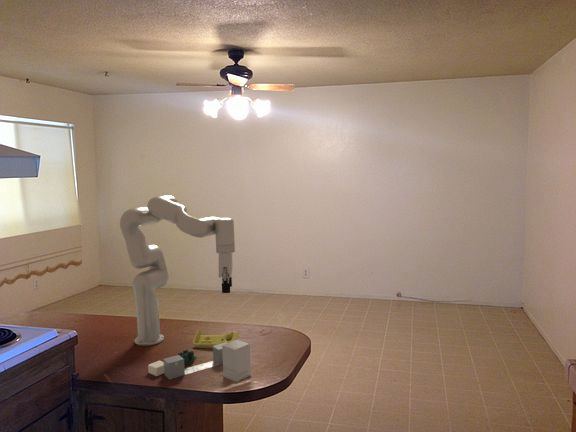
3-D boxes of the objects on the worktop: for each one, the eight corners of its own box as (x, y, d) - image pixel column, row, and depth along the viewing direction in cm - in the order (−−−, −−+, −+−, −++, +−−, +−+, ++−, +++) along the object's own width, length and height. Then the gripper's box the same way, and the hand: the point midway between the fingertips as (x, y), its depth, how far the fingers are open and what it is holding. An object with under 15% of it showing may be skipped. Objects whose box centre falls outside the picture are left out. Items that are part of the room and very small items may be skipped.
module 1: (164, 374, 175) (163, 358, 174) (179, 370, 178) (178, 354, 178) (169, 379, 171) (168, 363, 170) (184, 374, 174) (184, 359, 173)
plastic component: (191, 344, 200) (199, 327, 208) (196, 356, 204) (203, 339, 212) (234, 344, 195) (241, 326, 203) (239, 356, 199) (245, 339, 207)
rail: (164, 376, 175) (164, 374, 175) (226, 358, 190) (226, 356, 190) (169, 381, 171) (169, 379, 171) (232, 362, 186) (232, 360, 186)
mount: (191, 358, 191) (190, 346, 191) (199, 360, 189) (199, 348, 189) (172, 368, 182) (171, 356, 182) (180, 370, 180) (180, 358, 179)
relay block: (148, 375, 177) (148, 364, 176) (160, 370, 181) (159, 360, 180) (156, 378, 174) (156, 368, 173) (167, 373, 177) (167, 363, 177)
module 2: (213, 360, 186) (212, 345, 186) (226, 356, 190) (226, 342, 189) (219, 364, 182) (218, 349, 181) (232, 360, 185) (232, 346, 185)
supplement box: (251, 376, 173) (250, 343, 172) (236, 384, 167) (235, 349, 166) (237, 371, 178) (236, 339, 176) (222, 378, 172) (221, 344, 171)
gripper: (218, 245, 200) (220, 284, 202) (213, 252, 183) (215, 295, 184) (236, 244, 200) (237, 284, 202) (233, 252, 183) (234, 295, 185)
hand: (227, 289), depth 193 cm, fingers open, 9 cm apart
